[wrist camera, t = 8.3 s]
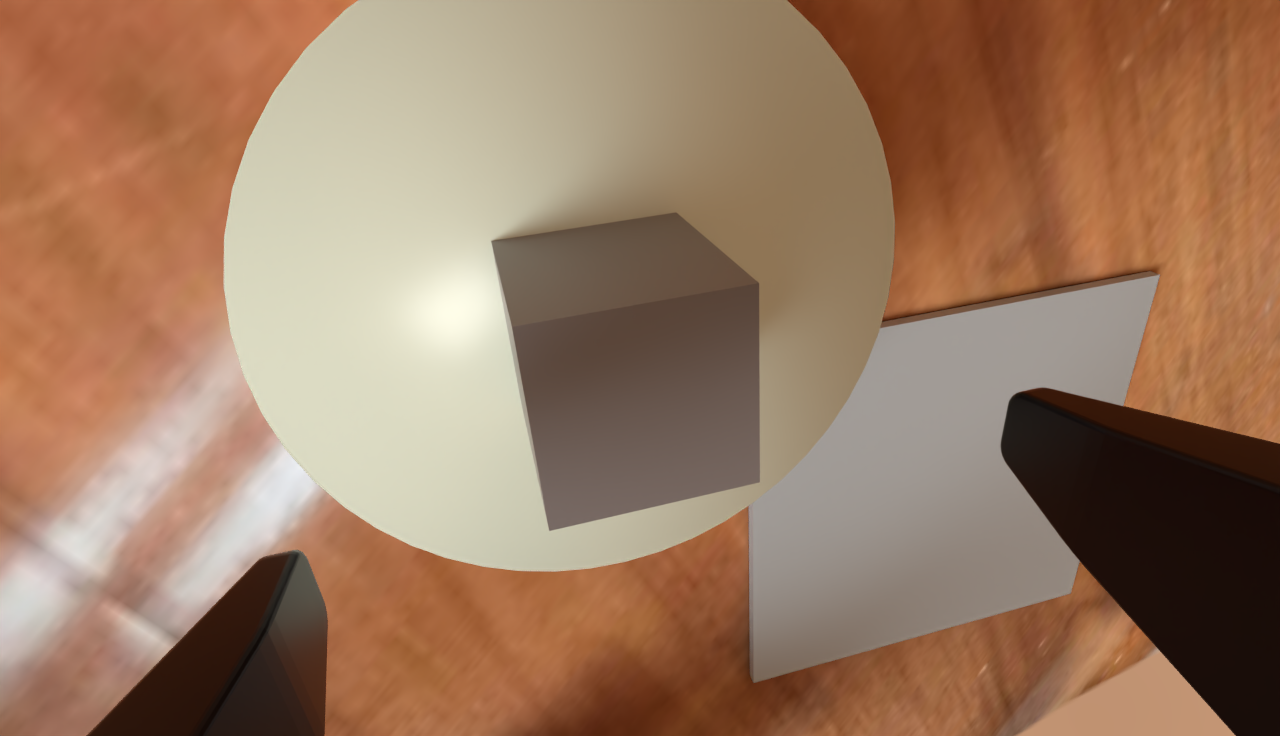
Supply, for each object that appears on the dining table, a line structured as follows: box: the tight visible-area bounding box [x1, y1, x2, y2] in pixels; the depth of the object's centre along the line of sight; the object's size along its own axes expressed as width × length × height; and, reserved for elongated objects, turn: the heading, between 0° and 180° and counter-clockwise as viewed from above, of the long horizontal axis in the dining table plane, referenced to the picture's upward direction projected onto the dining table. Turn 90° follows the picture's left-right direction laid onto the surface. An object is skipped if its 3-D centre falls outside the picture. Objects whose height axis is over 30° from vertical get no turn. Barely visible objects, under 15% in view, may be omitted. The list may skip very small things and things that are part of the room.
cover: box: [224, 0, 895, 571], centre depth 13 cm, size 13×13×5 cm
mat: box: [749, 271, 1160, 683], centre depth 27 cm, size 15×15×1 cm
